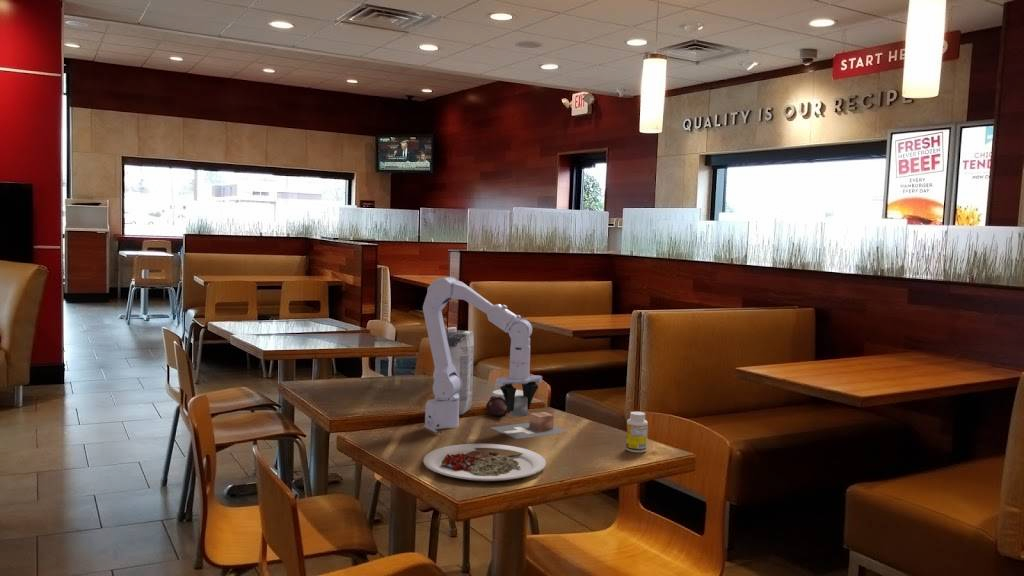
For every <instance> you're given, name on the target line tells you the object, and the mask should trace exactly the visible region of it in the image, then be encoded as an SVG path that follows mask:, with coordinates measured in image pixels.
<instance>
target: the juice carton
mask: <svg viewBox="0 0 1024 576" xmlns="http://www.w3.org/2000/svg"><path fill="white" fill-rule="evenodd" d="M446 336H447V340H448V345H449V350H450V355H451V360H452V364H453V365H454V367H455V368H456V372H457V374H458V376H459V377H460V378H461V381H462V387H461V389H460V391H459V392H458V395H459V397H460V398H459V416H461V415H465V413H466V412H468V411H470V410H471V406H472V402H473V401H472V400H473V386H474V385H473V381H474V380H473V377H474V351H475V350H474V349H475V348H474V347H475V343H474V331H472V330H463V329H462V330H460V329H457V327H456V326H451V327H447V331H446ZM469 409H470V410H469Z"/></svg>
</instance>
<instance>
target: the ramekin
mask: <svg viewBox="0 0 1024 576" xmlns="http://www.w3.org/2000/svg"><path fill="white" fill-rule="evenodd" d="M492 396H495V397H502V398H503V399H505V398H504V395H503V393H502V390H501V389H496V390H493V391H492ZM515 396H523V389H516V392H515Z"/></svg>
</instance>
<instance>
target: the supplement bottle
mask: <svg viewBox="0 0 1024 576" xmlns="http://www.w3.org/2000/svg"><path fill="white" fill-rule="evenodd" d="M648 424H649V423H648V421H647V419H646V413H645V412H642V411H630V414H629V419H627V420H626V439H625V441H626V442H625V449H626V450H627V451H629V452H630V453H637V454H639V453H644V452H646V451H647V450H648V449H647V448H648V428H649V427H648V426H649V425H648Z"/></svg>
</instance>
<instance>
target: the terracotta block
mask: <svg viewBox="0 0 1024 576" xmlns="http://www.w3.org/2000/svg"><path fill="white" fill-rule="evenodd" d="M554 419H555V415H553V414H550V413H549V412H546V411H541V412H532V413H531V412H530V413H529V423H530V426H529V427H531V428H533V429H536V430H538V431H542V430H550V429H553V426H554Z"/></svg>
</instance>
